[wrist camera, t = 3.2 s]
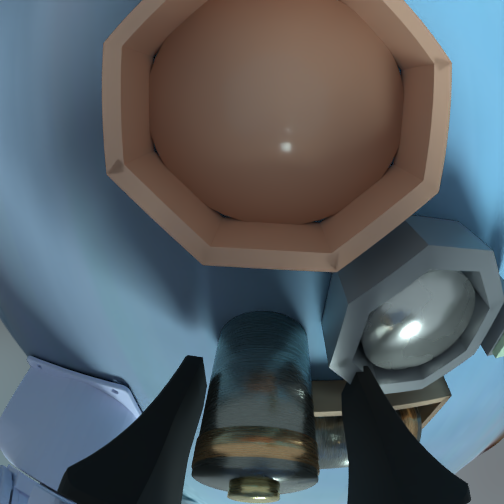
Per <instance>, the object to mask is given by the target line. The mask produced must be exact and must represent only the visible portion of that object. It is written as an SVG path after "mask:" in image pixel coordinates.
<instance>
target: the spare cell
mask: <svg viewBox="0 0 504 504" xmlns="http://www.w3.org/2000/svg"><path fill="white" fill-rule="evenodd" d="M395 411H396V412H397V414H398V415H399V417H400V418H401V420H402V421H403V422H404V424H405V425H406V427H407V428H408V429H409V430H410V432H411V433H412V434H413V435H414V437H415V438H416V439H417V440H418V441H419V442H420V438H421V431H422V423H421V416H420V412H419V409H418V407H412V408H406V409H400V410H395ZM315 430H316V442H317V444H318V453H319V469H329V468H342V467H349V465H348V454H347V447H346V440H345V433H344V426H343V419H342V416H324V417H315Z"/></svg>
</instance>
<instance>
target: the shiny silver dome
mask: <svg viewBox="0 0 504 504" xmlns="http://www.w3.org/2000/svg"><path fill="white" fill-rule="evenodd" d="M474 306H475V292H474V288H473V286H472V284H471V282H470V281H469V280H468V278H467V277H466V276H465V275H464V274H463V273H462V271H453V270H429V271H427V272H426V273H425V274H423V275H422V276H421V277H419V278H418V279H417V280H415V281H414V282H413V283H411V284H410V285H409V286H407V287H406V288H405V289H403V290H402V291H401V292H399V293H398V294H396V295H395V296H394V297H392V298H391V299H389V300H388V301H386V302H385V303H384V304H382V305H381V306H379V307H378V308H376V309H375V310H373V311H372V312H370V314H369V317H368V320H367V323H366V325H365V328H364V331H363V334H362V337H361V342H362V346H363V349H364V353H365V355H366V357H367V358H368V359H369V360H370V361H371V362H372V363H373V364H375V365H376V366H378V367H381V368H385V369H392V370H399V369H407V368H412V367H415V366H418V365H421V364H423V363H426V362H428V361H430V360H432V359H434V358H435V357H437V356H438V355H440V354H441V353H443V352H444V351H445V350H447V349H448V348H449V347H450V346H451V345H452V344H453V343H454V342H455V341H456V340H457V339H458V338H459V337H460V335H461V334H462V333H463V331H464V330H465V328H466V327H467V325H468V323H469V321H470V319H471V316H472V314H473V310H474Z"/></svg>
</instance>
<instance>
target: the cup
mask: <svg viewBox="0 0 504 504" xmlns="http://www.w3.org/2000/svg"><path fill="white" fill-rule="evenodd" d="M158 51H159V52H158ZM157 52H158V54H157V56H156V58H155V61H154V63H153V57H154V56H155V54H156V53H157ZM397 65H398V66H397ZM398 67H399V68H400V69H401V75H400V72H399V69H398ZM451 82H452V63H451V61H450V59H449V58H448V56H447V55H446V53H445V52H444V50H443V49H442V48H441V46H440V45H439V43H438V42H437V41H436V39H435V38H434V36H433V35H432V34H431V33H430V31H429V30H428V29H427V27H426V26H425V25H424V24H423V22H422V21H421V20H420V19H419V17H418V16H417V15H416V14H415V13H414V11H413V10H412V9H411V8H410V7H409V6H408V5H407V4H406V2H405V1H404V0H142V1H141V2H140V3H139V4H138V5H137V6H136V7H135V8H134V9H133V10H132V11H131V12H130V13H129V14H128V16H127V17H126V18H125V19H124V20H123V21H122V22H121V23H120V24H119V25H118V27H117V28H116V29H115V30H114V31H113V32H112V34H111V35H110V36H109V37H108V38H107V39H106V41H105V42H104V43H103V61H102V119H103V138H104V152H105V163H106V173H107V175H108V176H109V177H110V178H111V179H112V180H113V181H114V182H115V183H116V184H117V185H118V186H119V187H120V188H121V189H122V190H123V191H124V192H125V193H126V194H127V195H128V196H129V197H130V198H131V199H132V200H133V201H134V202H135V203H136V204H137V205H139V206H140V207H141V208H142V209H143V210H144V211H145V212H146V213H147V214H148V215H149V216H150V217H151V218H152V219H153V220H154V221H155V222H156V223H158V224H159V225H160V226H161V227H162V228H163V229H164V230H165V231H166V232H167V233H168V234H169V235H170V236H171V237H173V238H174V239H175V240H176V241H177V242H178V243H179V244H180V245H181V246H182V247H183V248H185V249H186V250H187V251H188V252H189V253H190V254H191V255H192V256H193V257H194V258H196V259H197V260H198V261H199V262H200V263H201V264H202V265H209V266H225V267H242V268H259V269H278V270H298V271H318V272H338V271H339V270H340V269H342V268H343V267H345V266H346V265H347V264H349V263H350V262H351V261H353V260H354V259H355V258H357V257H358V256H359V255H361V254H362V253H363V252H365V251H366V250H367V249H369V248H370V247H371V246H373V245H374V244H375V243H377V242H378V241H379V240H381V239H382V238H383V237H384V236H386V235H387V234H388V233H390V232H391V231H392V230H393V229H395V228H396V227H397V226H399V225H400V224H401V223H402V222H404V221H405V220H406V219H407V218H409V217H410V216H411V215H412V214H413V213H415V212H416V211H417V210H418V209H420V208H421V207H422V206H423V205H424V204H426V203H427V202H428V201H429V200H430V199H432V198H433V197H434V196H435V195H436V194H437V193H438V192H439V188H440V183H441V177H442V172H443V166H444V159H445V153H446V146H447V138H448V129H449V118H450V105H451ZM154 144H155V147H156V150H157V152H158V153H159V155H160V156H159V155H158V154H157V153H156V152H155V151H154ZM393 158H394V163H393V165H392V166H390V164H391V163H392V160H393ZM389 166H390V167H389ZM388 167H389V168H388ZM218 212H219V213H221V214H223V215H226V216H229V217H232V218H225V217H222V216H221V215H220V214H219V213H218ZM326 217H327V218H326ZM324 218H325V219H324ZM321 219H324V220H323V221H321V222H320V223H318V222H313V221H318V220H321Z"/></svg>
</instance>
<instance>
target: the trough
mask: <svg viewBox="0 0 504 504" xmlns="http://www.w3.org/2000/svg"><path fill="white" fill-rule="evenodd" d="M346 382H347V381H345V380H330V381H312V392H313V403H314V416H315V417H324V416H342V402H341V393H342V391H343V389H344V387H345V385H346ZM385 395H386V397H387V399H388V400H389V402H390V403H391V405H392V406H393V408H394V409H395V410H400V409H406V408H412V407H418V409H419V412H420V416H421V423H422V429H423V428H424V427H425V425H426V424H427V423H428V422H429V421H430V420H431V419H432V418H433V417H434V416H435V414H436V413H437V412H438V411H439V410H440V409H441V408H442V406H443V405H444V404H445V403H446V402H447V400H448V399H449V398H450V397H451V396H452V395H451V393H450V390H449V388H448V385H447V383H446V381H445V379H444V376H442V377H440V378H439V379H437V380H436V381H434V382H433V383H431V384H429V385H428V386H426V387H424V388H423V389H419V390H412V391H405V392H398V393H389V394H385Z"/></svg>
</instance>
